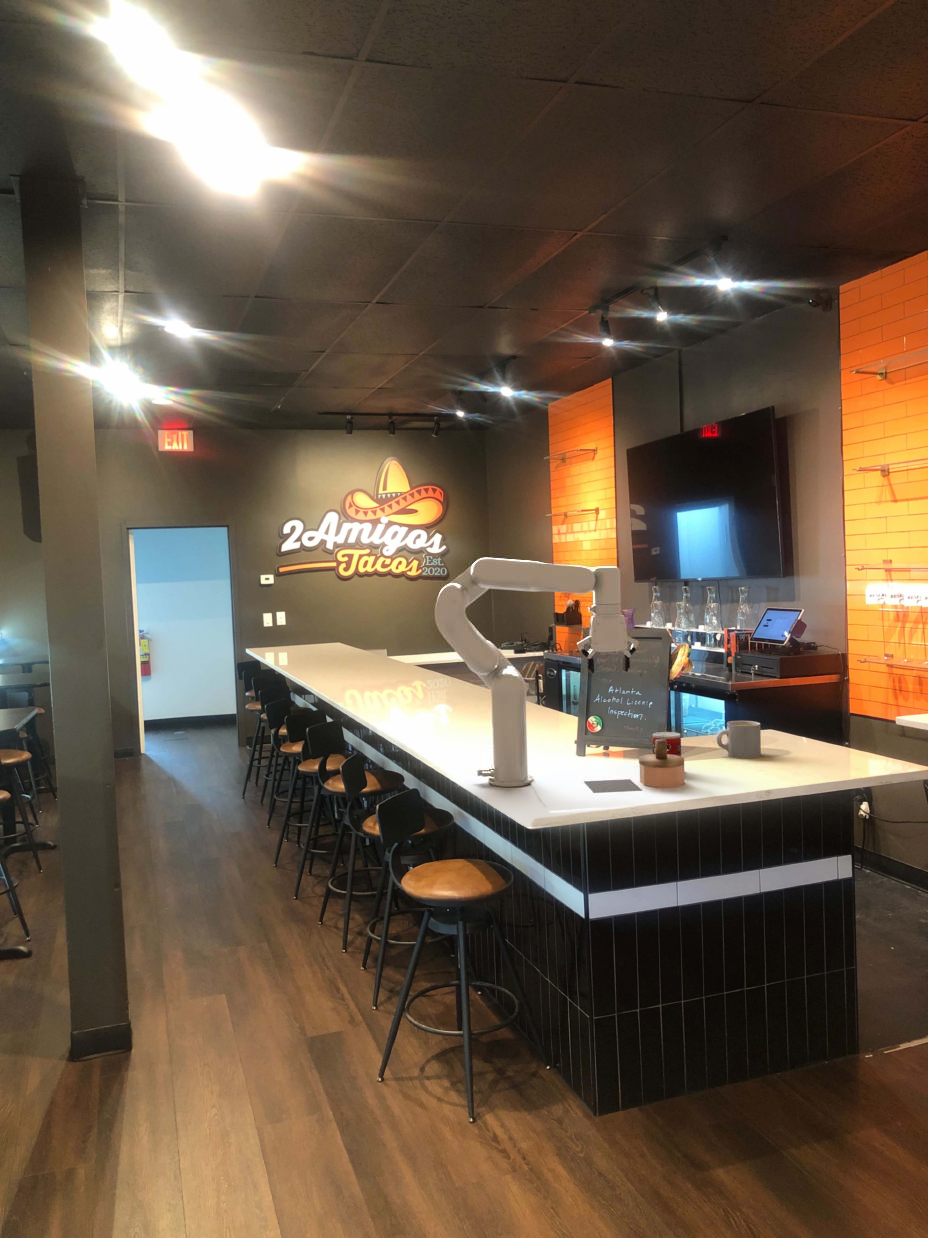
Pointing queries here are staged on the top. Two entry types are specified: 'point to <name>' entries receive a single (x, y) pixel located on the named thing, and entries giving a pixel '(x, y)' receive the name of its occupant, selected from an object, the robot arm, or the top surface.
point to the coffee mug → (741, 739)
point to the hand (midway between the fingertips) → (608, 671)
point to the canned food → (669, 742)
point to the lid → (661, 757)
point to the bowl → (662, 776)
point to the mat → (612, 786)
